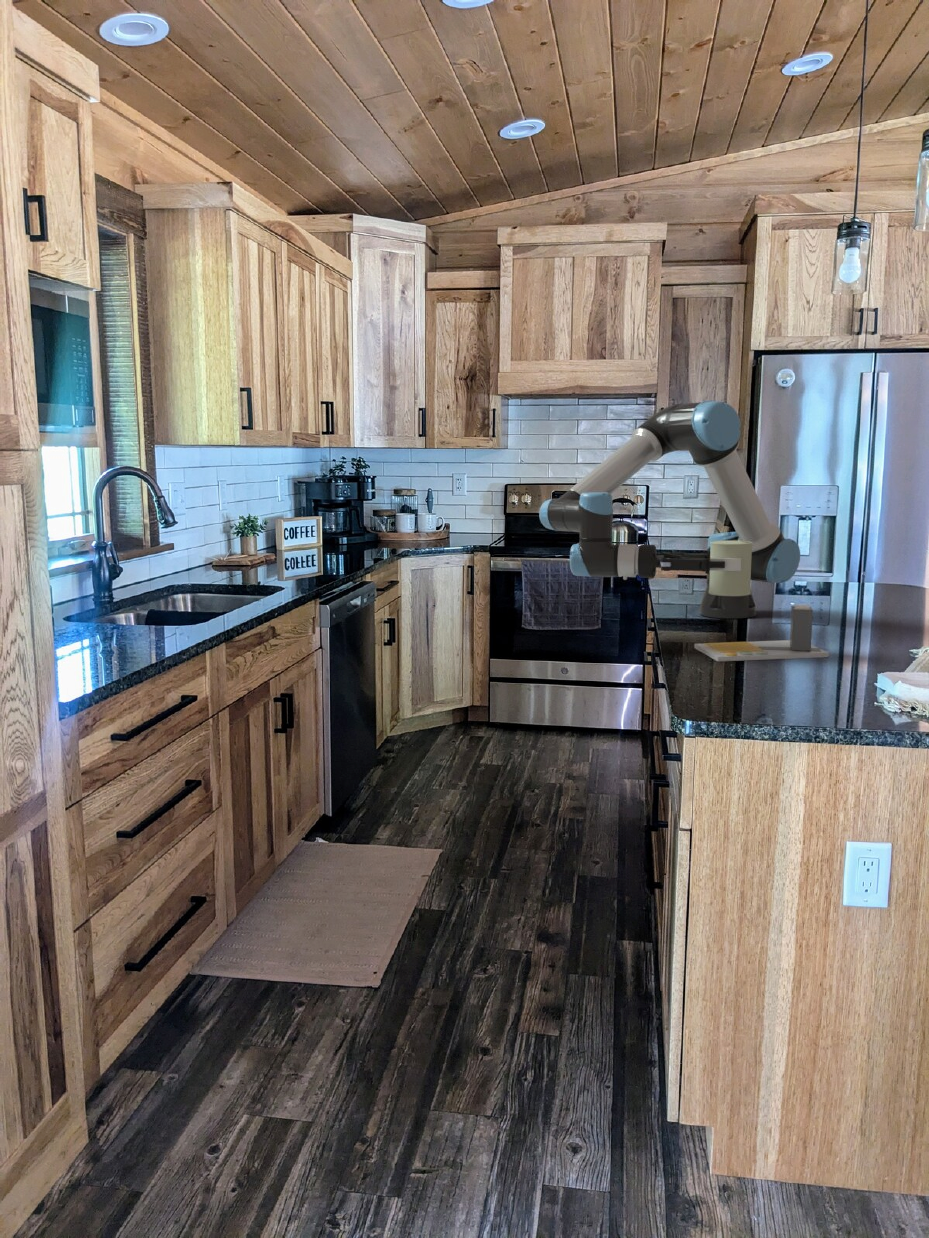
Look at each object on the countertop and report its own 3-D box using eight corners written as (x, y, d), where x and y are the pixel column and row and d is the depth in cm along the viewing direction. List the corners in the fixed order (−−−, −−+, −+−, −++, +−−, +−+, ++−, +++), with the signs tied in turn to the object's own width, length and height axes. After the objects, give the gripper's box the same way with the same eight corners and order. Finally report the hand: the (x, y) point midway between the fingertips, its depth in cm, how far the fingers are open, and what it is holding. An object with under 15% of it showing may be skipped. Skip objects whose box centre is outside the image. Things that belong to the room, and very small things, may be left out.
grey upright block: (808, 646, 212) (810, 604, 210) (810, 650, 207) (812, 608, 206) (789, 645, 213) (791, 604, 211) (791, 650, 208) (793, 607, 207)
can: (752, 596, 207) (754, 541, 205) (709, 595, 209) (710, 541, 207) (749, 590, 216) (751, 538, 214) (707, 590, 218) (709, 538, 216)
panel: (798, 643, 221) (798, 638, 221) (828, 656, 206) (829, 650, 206) (694, 648, 219) (694, 642, 219) (717, 661, 204) (717, 655, 204)
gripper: (641, 572, 228) (739, 573, 222) (633, 583, 207) (740, 585, 201) (642, 540, 226) (740, 541, 221) (633, 548, 206) (741, 550, 200)
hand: (740, 562), depth 211 cm, fingers closed on can, 9 cm apart
